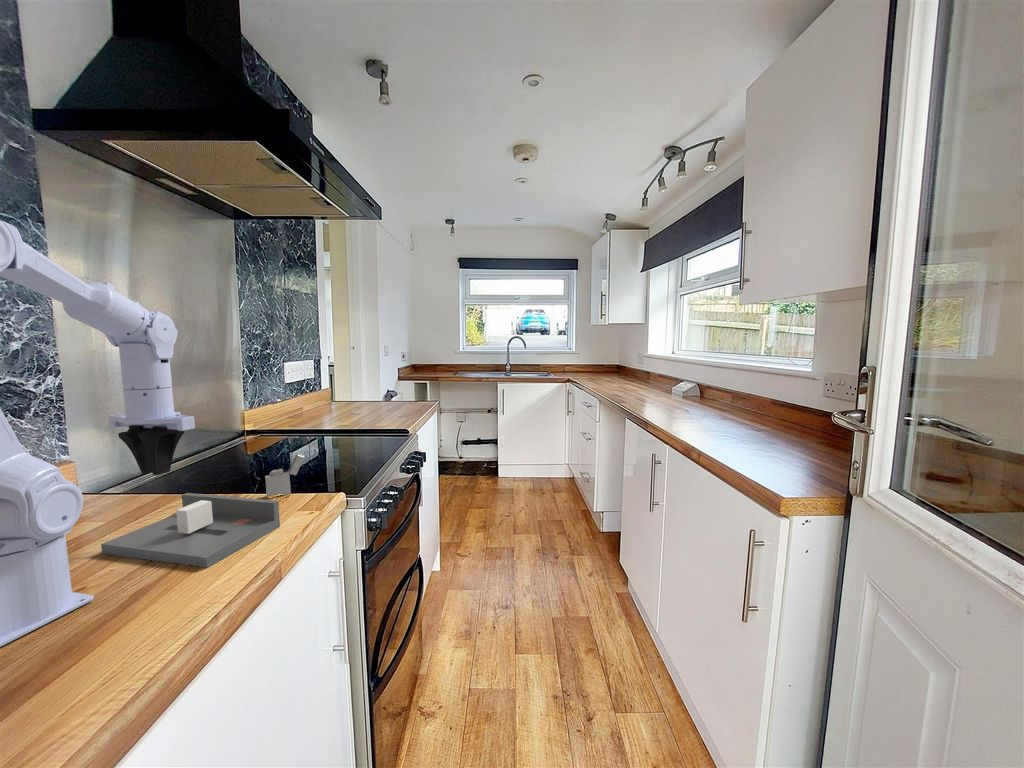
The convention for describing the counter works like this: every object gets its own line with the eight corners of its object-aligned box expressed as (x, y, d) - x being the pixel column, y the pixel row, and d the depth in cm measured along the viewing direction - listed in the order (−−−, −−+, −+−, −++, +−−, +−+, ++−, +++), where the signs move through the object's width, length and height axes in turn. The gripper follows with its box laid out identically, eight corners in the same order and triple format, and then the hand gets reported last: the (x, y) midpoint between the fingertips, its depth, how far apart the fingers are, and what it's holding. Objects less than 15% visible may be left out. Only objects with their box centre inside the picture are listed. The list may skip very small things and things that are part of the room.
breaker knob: (188, 533, 61) (186, 511, 61) (178, 532, 62) (176, 510, 61) (213, 522, 65) (211, 501, 65) (203, 521, 66) (201, 500, 65)
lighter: (267, 498, 81) (265, 459, 80) (266, 496, 82) (263, 458, 81) (306, 490, 85) (304, 453, 84) (305, 488, 86) (302, 452, 85)
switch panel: (207, 568, 55) (204, 536, 55) (102, 553, 59) (98, 524, 59) (279, 526, 68) (278, 500, 68) (189, 517, 72) (187, 492, 72)
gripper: (210, 386, 65) (216, 467, 67) (140, 385, 68) (147, 462, 70) (164, 391, 58) (172, 482, 60) (89, 389, 61) (98, 475, 63)
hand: (156, 472), depth 64 cm, fingers closed
